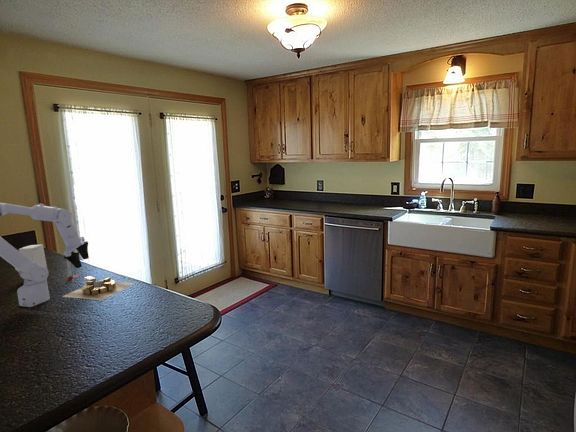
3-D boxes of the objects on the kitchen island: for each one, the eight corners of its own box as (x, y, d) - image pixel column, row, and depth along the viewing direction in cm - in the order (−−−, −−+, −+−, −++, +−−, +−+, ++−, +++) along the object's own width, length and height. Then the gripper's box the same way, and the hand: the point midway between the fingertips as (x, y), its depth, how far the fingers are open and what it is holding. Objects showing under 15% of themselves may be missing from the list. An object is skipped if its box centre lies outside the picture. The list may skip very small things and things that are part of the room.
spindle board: (102, 303, 137) (101, 291, 136) (62, 299, 143) (60, 288, 142) (135, 285, 154) (134, 275, 153) (98, 282, 160) (97, 273, 159)
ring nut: (99, 296, 140) (98, 287, 140) (67, 293, 145) (66, 285, 145) (121, 284, 152) (120, 277, 151) (91, 282, 157) (90, 275, 156)
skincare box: (36, 280, 167) (31, 248, 164) (23, 280, 167) (17, 249, 165) (49, 274, 176) (43, 243, 173) (36, 274, 176) (30, 244, 173)
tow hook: (84, 275, 173) (64, 280, 165) (82, 249, 171) (61, 253, 163) (93, 278, 168) (72, 284, 160) (91, 251, 166) (70, 256, 158)
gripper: (71, 240, 142) (85, 269, 147) (86, 226, 155) (98, 253, 160) (53, 244, 141) (68, 273, 147) (69, 229, 155) (82, 256, 160)
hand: (82, 262), depth 153 cm, fingers open, 7 cm apart
